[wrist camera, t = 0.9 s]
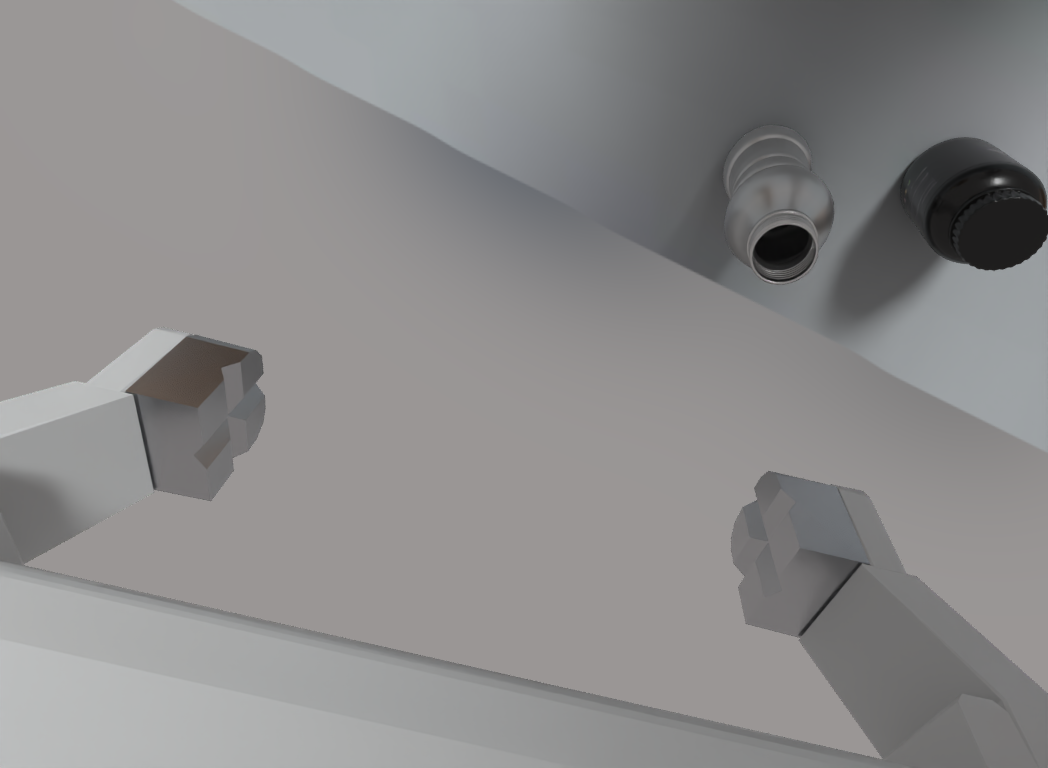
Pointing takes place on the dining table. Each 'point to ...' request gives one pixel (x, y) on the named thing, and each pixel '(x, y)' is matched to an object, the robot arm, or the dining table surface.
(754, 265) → the silver water bottle
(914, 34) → the dining table surface
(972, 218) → the supplement bottle
